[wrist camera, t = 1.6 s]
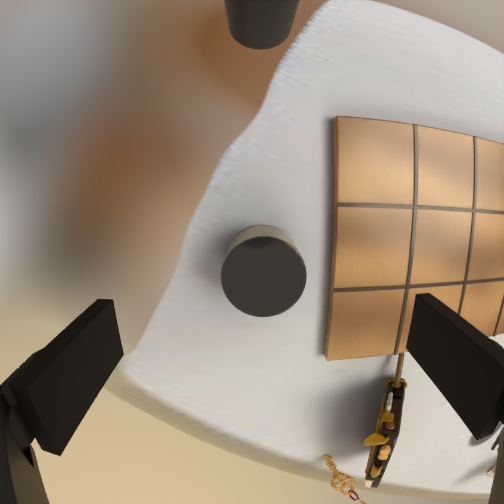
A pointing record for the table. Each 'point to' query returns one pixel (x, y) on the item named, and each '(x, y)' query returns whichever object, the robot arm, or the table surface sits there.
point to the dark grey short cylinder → (263, 272)
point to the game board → (412, 232)
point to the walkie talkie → (379, 436)
